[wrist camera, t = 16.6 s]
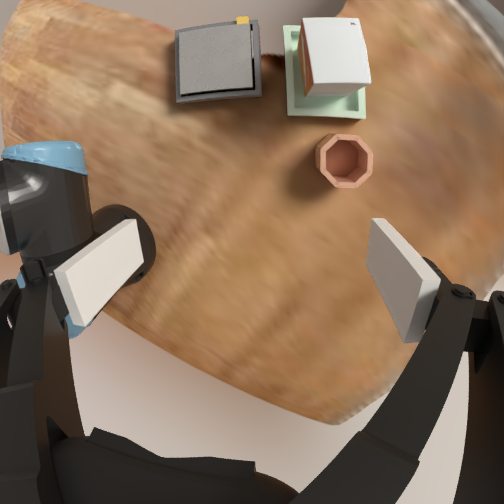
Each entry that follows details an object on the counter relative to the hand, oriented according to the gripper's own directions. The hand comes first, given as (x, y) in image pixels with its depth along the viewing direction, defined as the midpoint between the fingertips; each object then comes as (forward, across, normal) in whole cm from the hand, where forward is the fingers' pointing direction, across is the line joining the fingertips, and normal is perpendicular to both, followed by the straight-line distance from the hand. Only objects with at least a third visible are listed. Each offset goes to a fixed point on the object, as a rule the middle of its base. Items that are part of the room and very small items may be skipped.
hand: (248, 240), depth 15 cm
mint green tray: (+29, +8, +15) cm, 33 cm away
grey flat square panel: (+26, -7, +17) cm, 32 cm away
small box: (+28, +8, +15) cm, 33 cm away
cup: (+29, +10, +2) cm, 30 cm away
